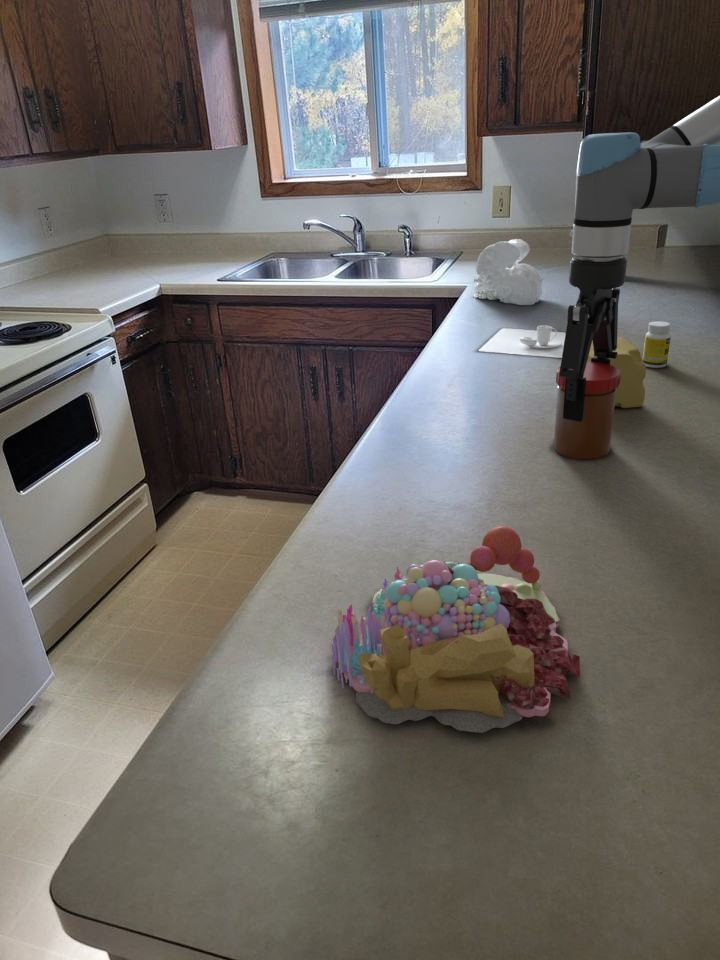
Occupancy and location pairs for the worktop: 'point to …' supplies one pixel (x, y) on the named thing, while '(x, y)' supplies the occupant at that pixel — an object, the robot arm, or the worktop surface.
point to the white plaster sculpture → (507, 274)
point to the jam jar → (585, 426)
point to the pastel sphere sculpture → (458, 643)
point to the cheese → (627, 374)
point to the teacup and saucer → (527, 342)
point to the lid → (596, 377)
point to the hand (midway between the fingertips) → (585, 408)
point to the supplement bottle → (657, 344)
